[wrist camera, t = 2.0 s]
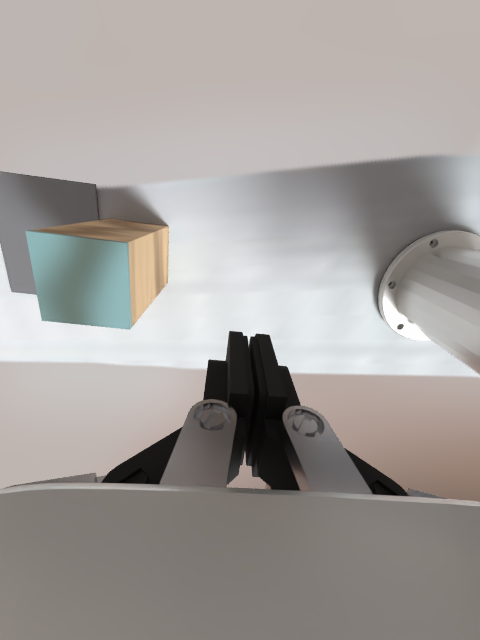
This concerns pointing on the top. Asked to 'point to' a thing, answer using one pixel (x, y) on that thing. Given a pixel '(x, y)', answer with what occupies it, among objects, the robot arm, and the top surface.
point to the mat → (37, 217)
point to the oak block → (98, 271)
